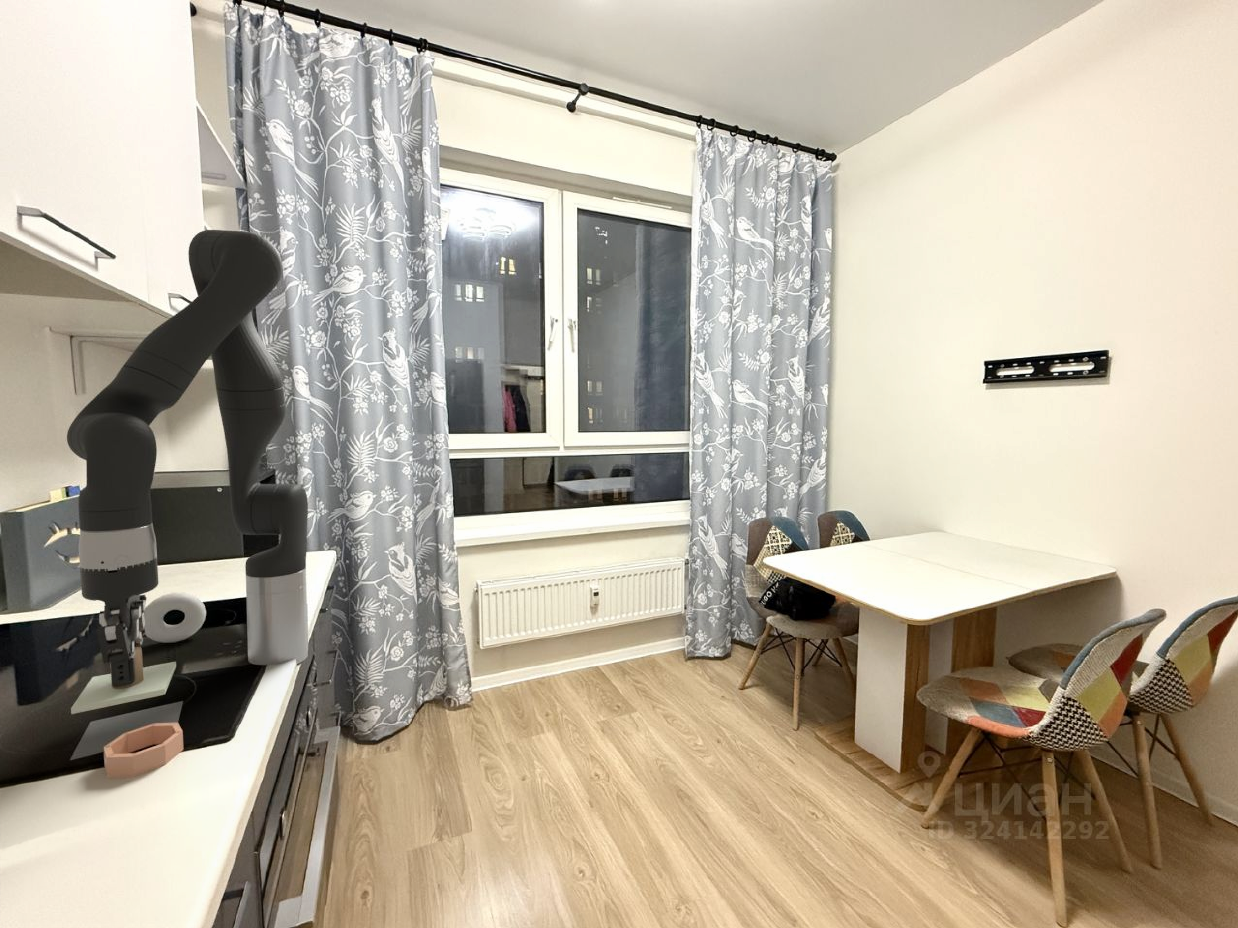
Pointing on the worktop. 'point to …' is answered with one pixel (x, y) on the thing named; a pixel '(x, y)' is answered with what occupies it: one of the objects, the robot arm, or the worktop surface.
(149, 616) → the donut
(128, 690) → the lid
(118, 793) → the worktop surface
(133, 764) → the pink hollow octagonal piece
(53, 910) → the worktop surface
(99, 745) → the mat
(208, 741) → the worktop surface
